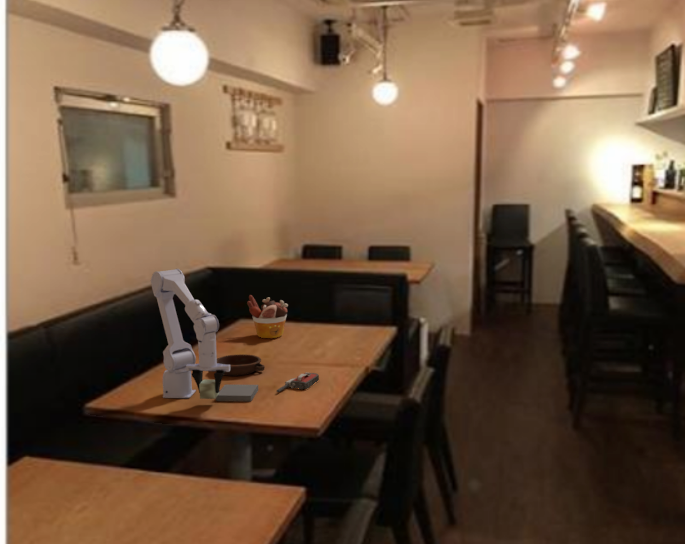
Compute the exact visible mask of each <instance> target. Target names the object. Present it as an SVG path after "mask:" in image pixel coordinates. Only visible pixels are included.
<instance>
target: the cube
mask: <svg viewBox="0 0 685 544" xmlns="http://www.w3.org/2000/svg"><path fill="white" fill-rule="evenodd" d="M199 390H200V393H199V399H201V400H203V399H204V400H216V397H217V396H218V394H219V392H218V393H216V391H215V379H205V378H204V379H202V382H201V383H200V384H199ZM199 390H198V391H199Z"/></svg>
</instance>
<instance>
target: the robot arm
mask: <svg viewBox="0 0 685 544" xmlns="http://www.w3.org/2000/svg"><path fill="white" fill-rule="evenodd" d="M185 279H186V278H185V275H184V273H183V271H182V270H181V269H180V268H175V269H169V270H168V269H167V270H161V271H154V272H153V273H152V275H151V278H150V284H151V289H152V292H153V296H154V297H155V298H156V300H157V304H158V308H159V313H160V316H161V320H162V324H163V329H164V333H165V336H166V337H165V338H166V339H167V344H168V345H166V347H165V348H164V350H163V351H162V354H163V365H164V368H165V370H164V372H163V374H162V390H163V391H162V392H163V393H162V398H163V399H190V398H191V397H192V396H193V395H194V394H195V393H196V391H197V389H198V392H199V394H200V390H199V384H200V383H201V382H202V381H203V375H204V374H203V373H204V372H214V373H213V377H214V380H215V391H216V393H218V392H219V391H220V390H221V387H220V386H221V385H222V384H221V383H222V380H223V377H224V376H225V375H224V373H225V371H226V372H229V371H230V365H226V364H218V363H217V358H218V357H217V337H216V335H217V334H216V333H217V332H218V330H219V329H220V323H219V319H218V318H217V316H216V315H215V314H212V313H210V312H208V311H207V309H206V307H204V305H203V304H202V302H201V301H200V300H199V299H195V298H194V297H193V295H192V293H191V292H190V290H189V288H188V286H187V285H186V282H185V281H186V280H185ZM174 295H176V296H177V297H178V299H179V300H180V301H181V302H182V303H183V304H184V306H185V307H184V311H185V313H186V314H187V316H188V317H189V318H190V320H191V321H192V323H193V331H194V333H195V335H196V340H197V343H198V344H197V345H198V363H196V361H197V357H196V354H195V352H194V350H193V348H192V345H191V344H190V343H188V342H186V341H185V340H184V338H183V333H182V330H181V325H180V322H179V318H178V315H177V311H176V306H175V302H174V299H173V298H174ZM192 378H193V381H194V382H195V384H196V387H197V389H193V385H192Z"/></svg>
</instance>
